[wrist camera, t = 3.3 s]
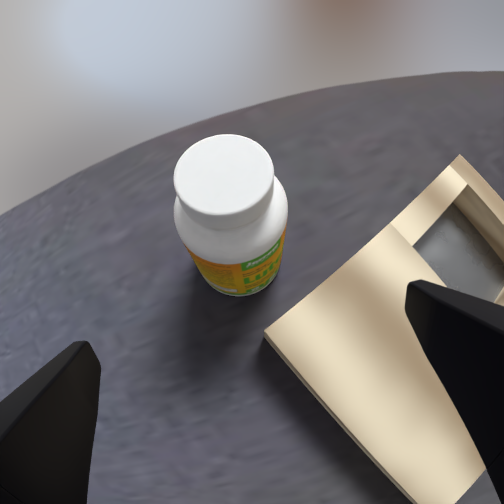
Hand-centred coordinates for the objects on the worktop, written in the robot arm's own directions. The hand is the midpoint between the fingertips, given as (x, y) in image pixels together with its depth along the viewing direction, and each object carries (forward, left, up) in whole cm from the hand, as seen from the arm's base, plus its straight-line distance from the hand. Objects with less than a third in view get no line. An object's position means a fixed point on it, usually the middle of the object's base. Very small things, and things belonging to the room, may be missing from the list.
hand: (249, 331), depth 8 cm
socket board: (+11, -8, -12) cm, 18 cm away
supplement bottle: (+3, +6, -12) cm, 13 cm away
